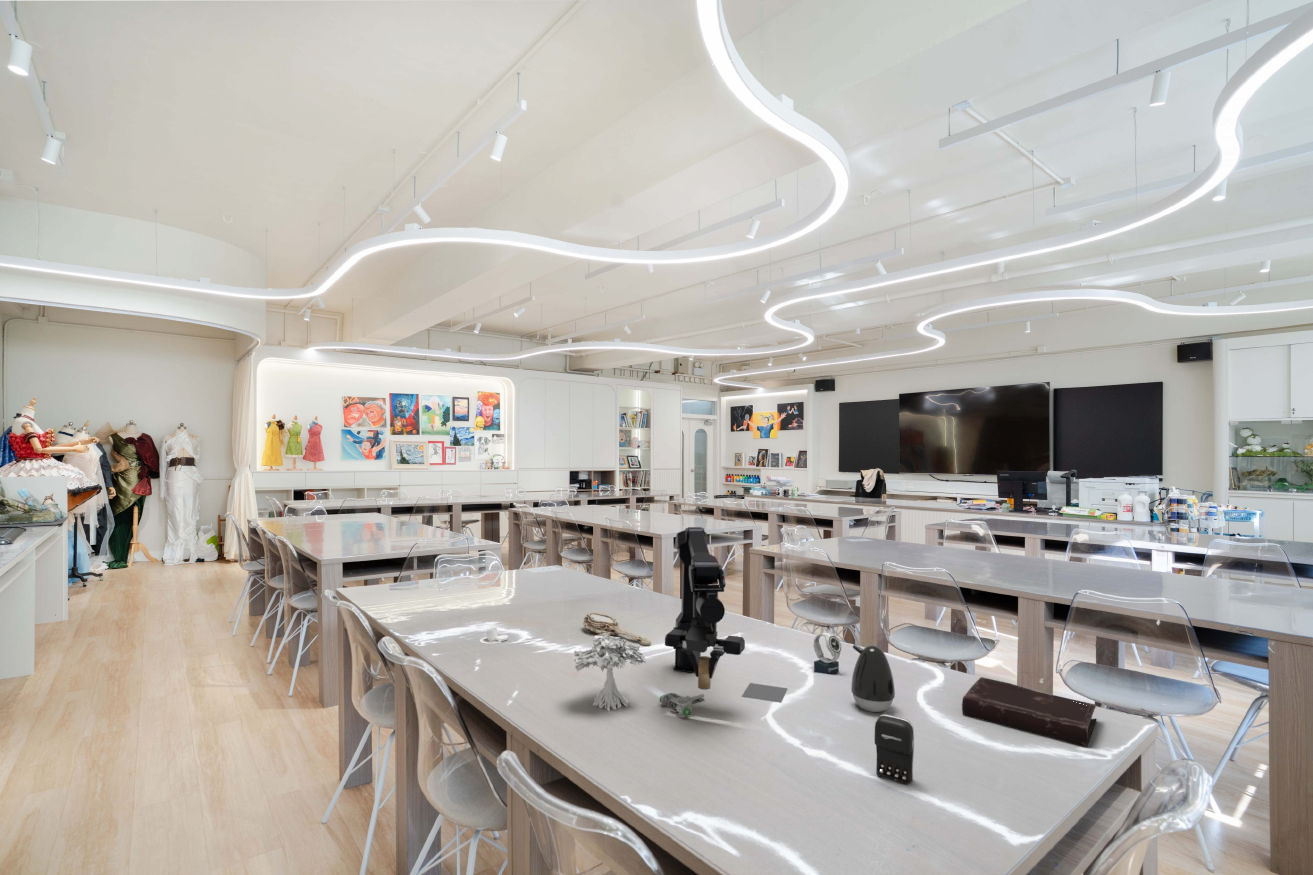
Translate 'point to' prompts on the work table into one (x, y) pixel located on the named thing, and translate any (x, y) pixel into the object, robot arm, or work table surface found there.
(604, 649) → the tree
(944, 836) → the work table surface
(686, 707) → the mechanical component
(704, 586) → the robot arm
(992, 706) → the diary
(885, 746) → the battery charger
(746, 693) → the mat
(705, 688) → the dowel
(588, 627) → the hand mirror
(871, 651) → the pump dispenser
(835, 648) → the watch
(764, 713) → the work table surface
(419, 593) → the work table surface
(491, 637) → the teacup and saucer
